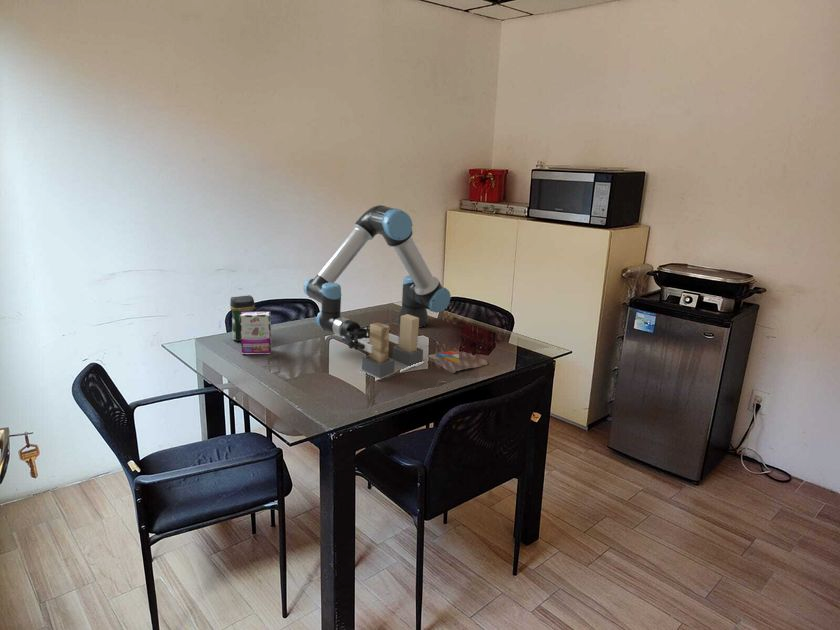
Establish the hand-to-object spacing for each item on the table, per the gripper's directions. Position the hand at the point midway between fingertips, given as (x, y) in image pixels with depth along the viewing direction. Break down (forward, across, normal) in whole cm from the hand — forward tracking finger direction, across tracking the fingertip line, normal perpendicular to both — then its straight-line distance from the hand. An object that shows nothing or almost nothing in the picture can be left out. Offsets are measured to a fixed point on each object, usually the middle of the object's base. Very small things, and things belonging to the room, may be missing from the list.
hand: (385, 344), depth 201 cm
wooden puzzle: (+9, -32, -13) cm, 36 cm away
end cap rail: (-3, -8, -12) cm, 15 cm away
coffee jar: (-64, +19, -13) cm, 68 cm away
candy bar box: (-48, +23, -13) cm, 55 cm away
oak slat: (-3, 0, -12) cm, 12 cm away
